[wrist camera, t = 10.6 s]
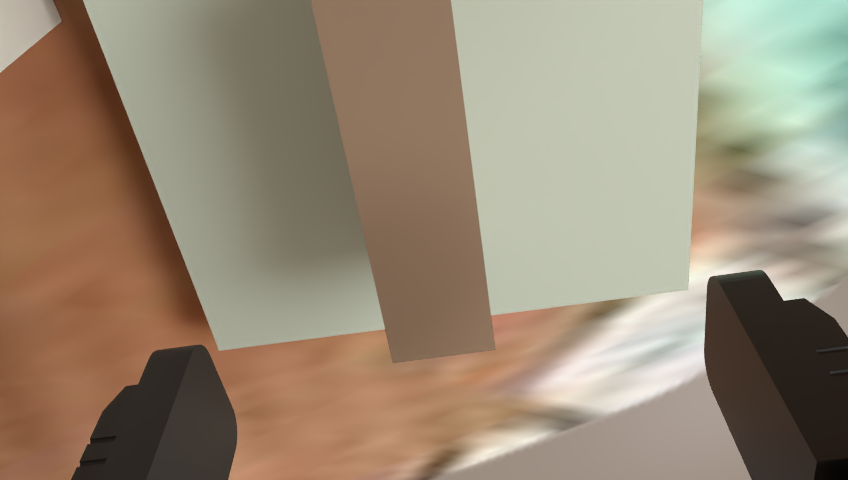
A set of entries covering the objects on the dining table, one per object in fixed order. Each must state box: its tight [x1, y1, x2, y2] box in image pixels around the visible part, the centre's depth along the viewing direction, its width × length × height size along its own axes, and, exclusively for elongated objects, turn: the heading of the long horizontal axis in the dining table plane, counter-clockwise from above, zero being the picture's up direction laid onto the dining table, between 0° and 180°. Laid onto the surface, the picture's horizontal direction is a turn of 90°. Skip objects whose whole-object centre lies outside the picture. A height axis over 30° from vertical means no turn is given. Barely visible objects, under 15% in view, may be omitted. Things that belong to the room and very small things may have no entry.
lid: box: [83, 0, 703, 363], centre depth 19 cm, size 15×15×7 cm
